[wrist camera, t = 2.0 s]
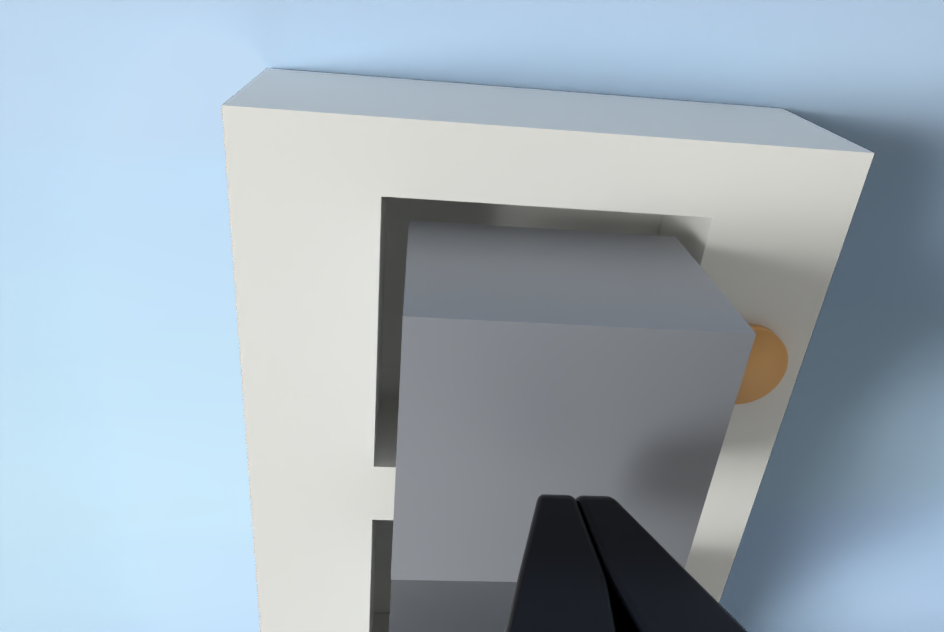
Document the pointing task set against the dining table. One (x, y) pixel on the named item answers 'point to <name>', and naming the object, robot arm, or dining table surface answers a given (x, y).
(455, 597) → the key middle
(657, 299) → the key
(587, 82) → the dining table surface
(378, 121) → the keypad
